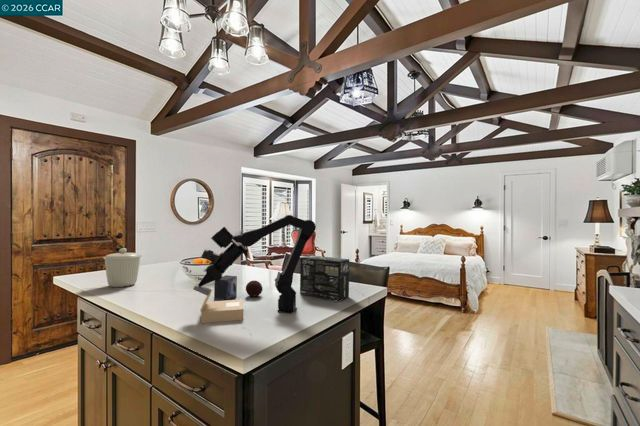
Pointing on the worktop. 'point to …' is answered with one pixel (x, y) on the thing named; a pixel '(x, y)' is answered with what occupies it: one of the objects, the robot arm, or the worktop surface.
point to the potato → (254, 288)
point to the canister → (122, 268)
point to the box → (324, 277)
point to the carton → (222, 311)
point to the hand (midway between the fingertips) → (199, 285)
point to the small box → (225, 288)
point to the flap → (203, 292)
